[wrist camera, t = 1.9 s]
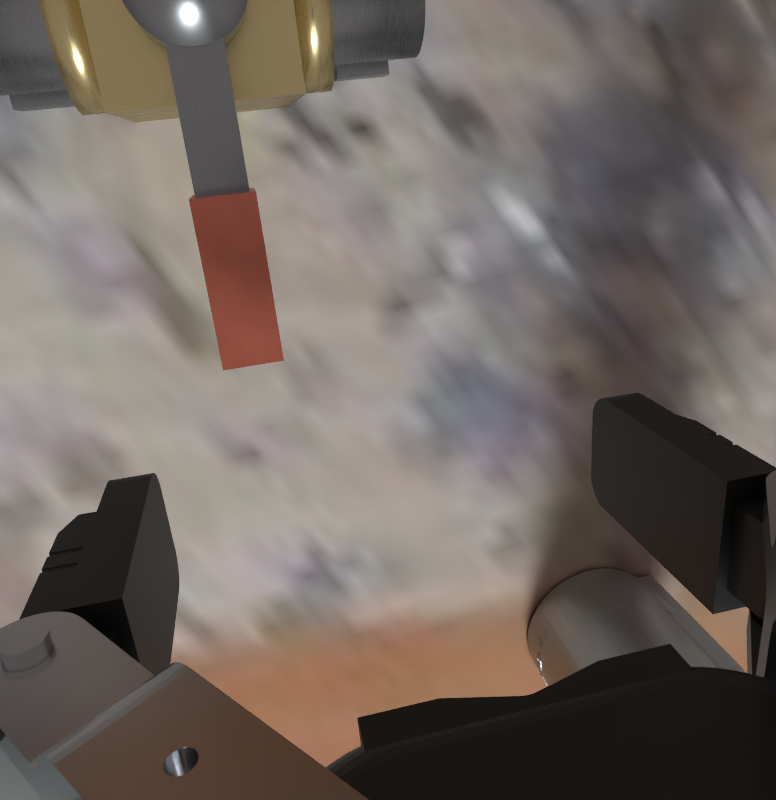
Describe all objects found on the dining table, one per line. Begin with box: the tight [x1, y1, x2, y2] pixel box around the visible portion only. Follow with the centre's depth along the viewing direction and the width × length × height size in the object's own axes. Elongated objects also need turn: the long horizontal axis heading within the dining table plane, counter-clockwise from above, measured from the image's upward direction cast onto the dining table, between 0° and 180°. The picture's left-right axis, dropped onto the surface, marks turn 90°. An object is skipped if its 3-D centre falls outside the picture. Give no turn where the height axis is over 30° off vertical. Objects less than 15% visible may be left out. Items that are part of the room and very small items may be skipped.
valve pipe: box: [0, 0, 425, 122], centre depth 27 cm, size 18×7×8 cm, turn 95°
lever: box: [122, 0, 284, 370], centre depth 23 cm, size 14×4×2 cm, turn 5°
